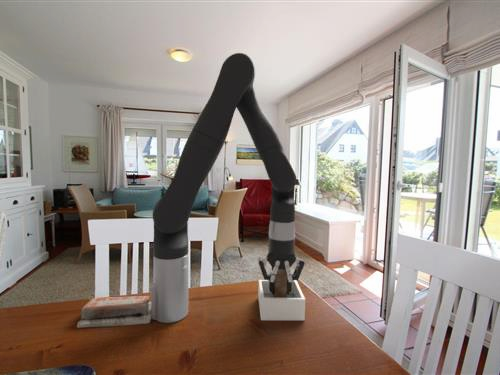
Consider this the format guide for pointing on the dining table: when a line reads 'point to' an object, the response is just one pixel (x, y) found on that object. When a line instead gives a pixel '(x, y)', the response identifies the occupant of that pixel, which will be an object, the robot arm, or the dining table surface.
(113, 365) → the dining table surface
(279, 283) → the peg
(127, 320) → the packaged product
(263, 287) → the open box
